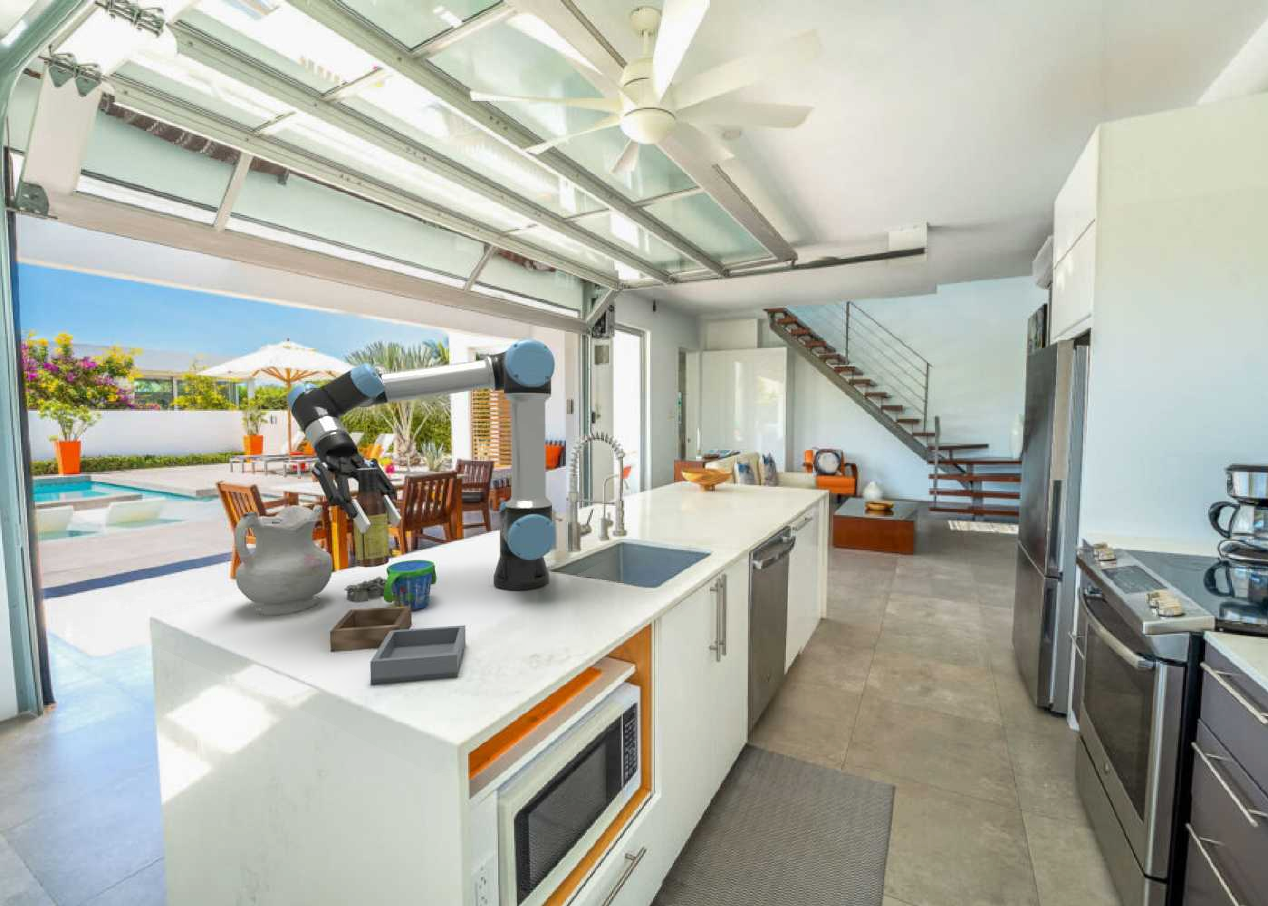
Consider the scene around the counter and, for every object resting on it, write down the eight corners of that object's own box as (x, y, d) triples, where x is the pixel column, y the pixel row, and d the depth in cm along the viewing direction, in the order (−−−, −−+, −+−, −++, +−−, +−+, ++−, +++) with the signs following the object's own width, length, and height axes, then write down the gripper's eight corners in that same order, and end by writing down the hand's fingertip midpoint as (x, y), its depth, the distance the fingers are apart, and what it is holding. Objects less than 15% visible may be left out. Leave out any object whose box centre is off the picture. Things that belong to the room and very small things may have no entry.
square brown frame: (411, 623, 118) (411, 605, 118) (399, 646, 106) (398, 626, 106) (350, 627, 116) (350, 609, 116) (330, 651, 104) (330, 631, 104)
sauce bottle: (395, 561, 113) (393, 467, 112) (378, 569, 107) (376, 469, 106) (366, 560, 114) (364, 466, 113) (347, 568, 108) (345, 469, 106)
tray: (465, 644, 107) (465, 625, 107) (457, 677, 93) (457, 654, 93) (390, 650, 104) (390, 630, 104) (370, 685, 91) (370, 661, 90)
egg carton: (358, 604, 132) (357, 588, 131) (342, 599, 136) (341, 583, 135) (397, 593, 140) (396, 578, 140) (380, 588, 144) (380, 574, 144)
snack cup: (401, 620, 120) (400, 576, 120) (368, 613, 125) (367, 570, 124) (451, 600, 134) (451, 560, 134) (420, 594, 139) (419, 555, 138)
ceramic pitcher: (293, 630, 117) (299, 517, 116) (203, 623, 117) (208, 510, 116) (345, 599, 139) (351, 503, 137) (270, 593, 138) (275, 497, 137)
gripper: (366, 453, 125) (414, 529, 118) (278, 457, 108) (327, 546, 101) (380, 430, 122) (430, 507, 115) (291, 431, 105) (343, 521, 98)
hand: (382, 525), depth 108 cm, fingers closed on sauce bottle, 6 cm apart
